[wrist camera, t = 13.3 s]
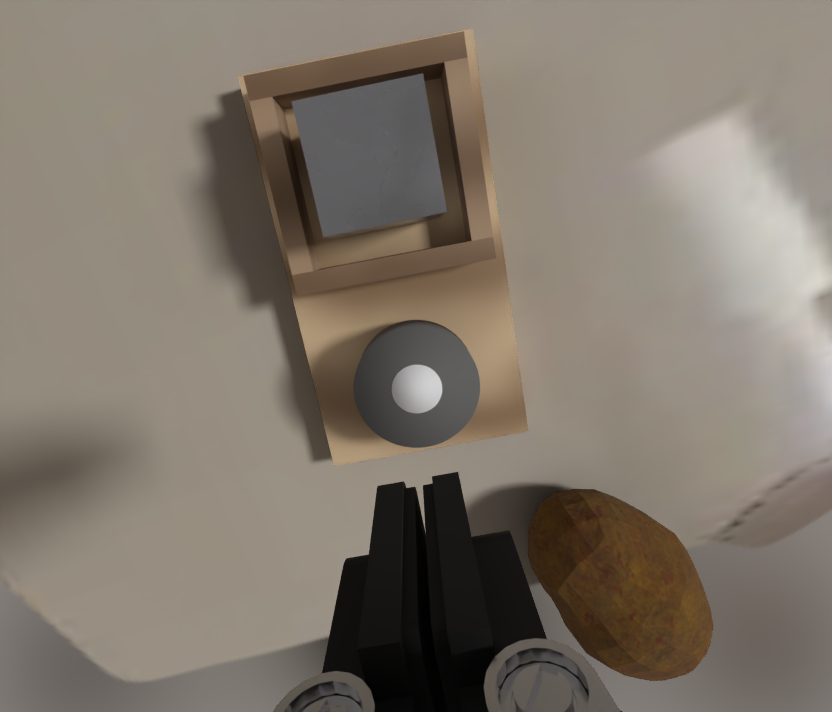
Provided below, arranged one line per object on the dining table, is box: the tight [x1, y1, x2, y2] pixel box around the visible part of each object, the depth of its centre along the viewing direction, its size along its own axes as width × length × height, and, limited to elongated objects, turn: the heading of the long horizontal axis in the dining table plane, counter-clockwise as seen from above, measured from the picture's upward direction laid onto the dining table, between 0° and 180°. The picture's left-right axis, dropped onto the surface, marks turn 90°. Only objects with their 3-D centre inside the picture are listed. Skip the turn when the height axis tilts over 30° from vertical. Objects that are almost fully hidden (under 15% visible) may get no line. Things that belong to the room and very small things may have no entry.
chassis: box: [238, 29, 528, 466], centre depth 24 cm, size 20×11×4 cm, turn 11°
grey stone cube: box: [291, 73, 447, 238], centre depth 21 cm, size 5×5×5 cm
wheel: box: [354, 320, 480, 448], centre depth 23 cm, size 6×6×2 cm
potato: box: [528, 489, 713, 681], centre depth 26 cm, size 8×12×8 cm, turn 50°
